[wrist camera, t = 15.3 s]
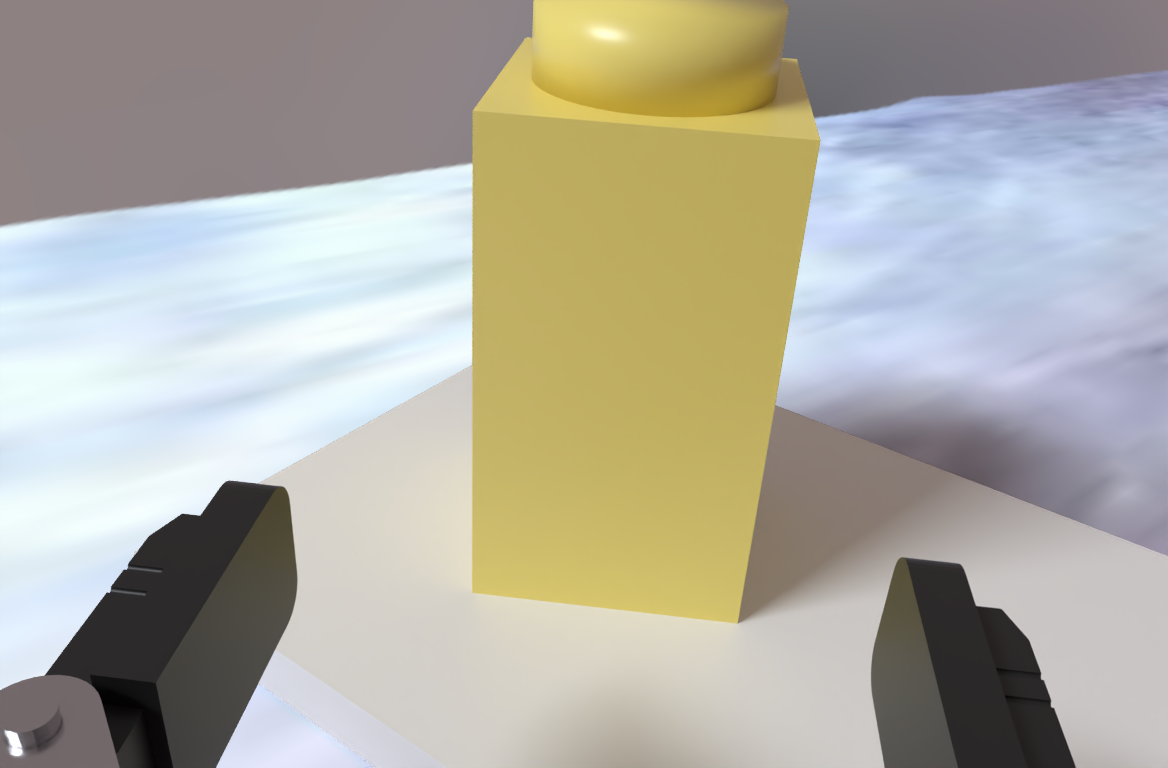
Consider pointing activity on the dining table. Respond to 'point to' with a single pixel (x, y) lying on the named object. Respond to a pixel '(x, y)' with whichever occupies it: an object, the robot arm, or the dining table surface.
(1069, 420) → the dining table surface
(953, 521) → the plate
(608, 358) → the tall yellow stud brick
